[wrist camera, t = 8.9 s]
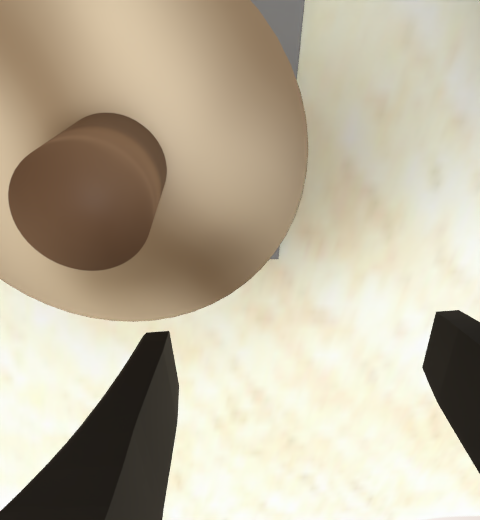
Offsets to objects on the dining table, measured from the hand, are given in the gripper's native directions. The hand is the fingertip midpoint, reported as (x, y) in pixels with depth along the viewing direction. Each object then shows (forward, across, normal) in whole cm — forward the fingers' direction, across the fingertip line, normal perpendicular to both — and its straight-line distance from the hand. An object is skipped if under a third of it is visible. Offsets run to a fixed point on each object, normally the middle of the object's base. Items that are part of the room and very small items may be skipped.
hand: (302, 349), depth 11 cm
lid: (+5, +5, -4) cm, 8 cm away
